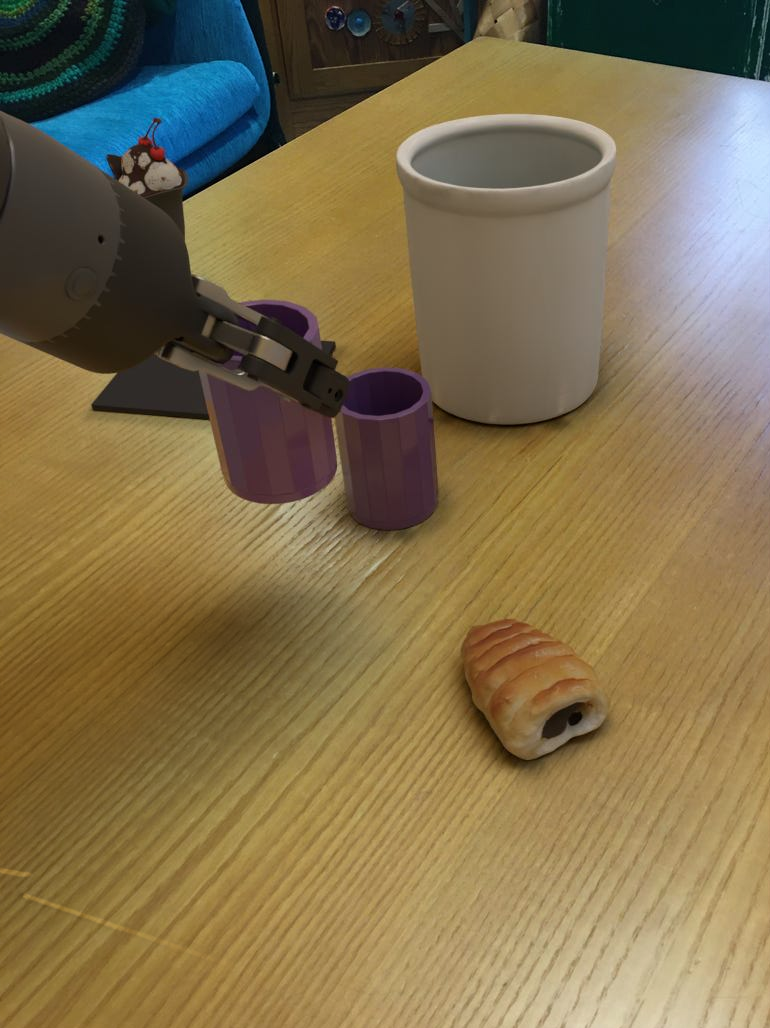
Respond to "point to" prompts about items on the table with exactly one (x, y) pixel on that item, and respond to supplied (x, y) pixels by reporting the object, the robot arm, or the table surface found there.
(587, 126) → the utensil holder
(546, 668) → the pastry
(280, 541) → the table surface
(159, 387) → the mat
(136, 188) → the sundae
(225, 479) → the purple cup
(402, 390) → the purple tumbler
